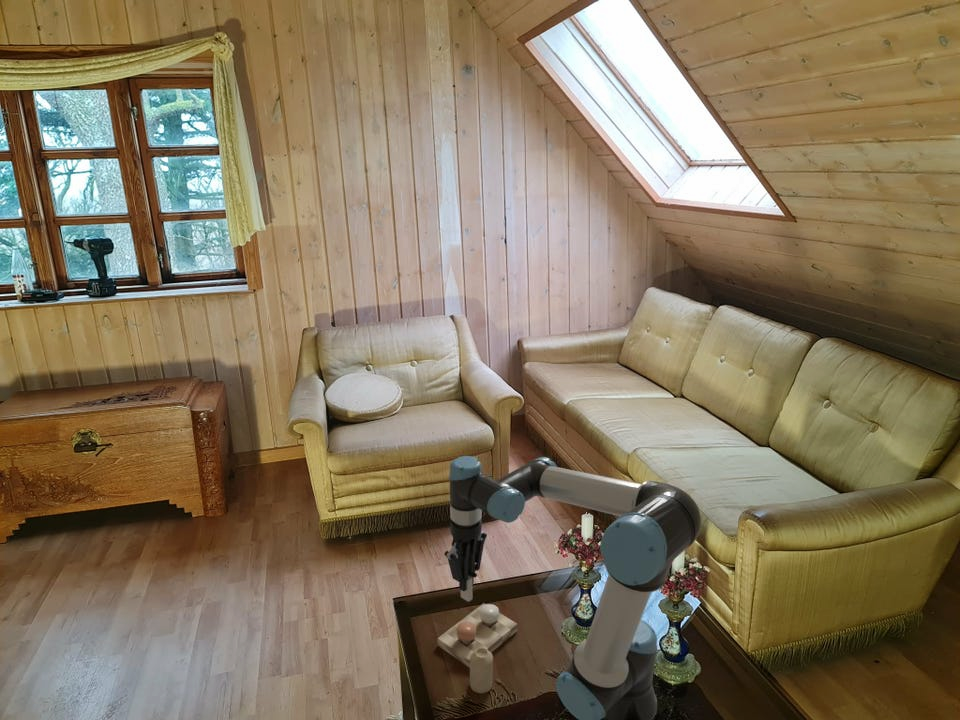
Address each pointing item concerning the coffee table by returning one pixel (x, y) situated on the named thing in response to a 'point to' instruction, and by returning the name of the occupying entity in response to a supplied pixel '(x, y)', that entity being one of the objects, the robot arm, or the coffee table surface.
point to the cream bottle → (481, 670)
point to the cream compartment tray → (477, 636)
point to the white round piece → (489, 614)
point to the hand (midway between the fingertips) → (466, 597)
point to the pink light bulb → (466, 632)
